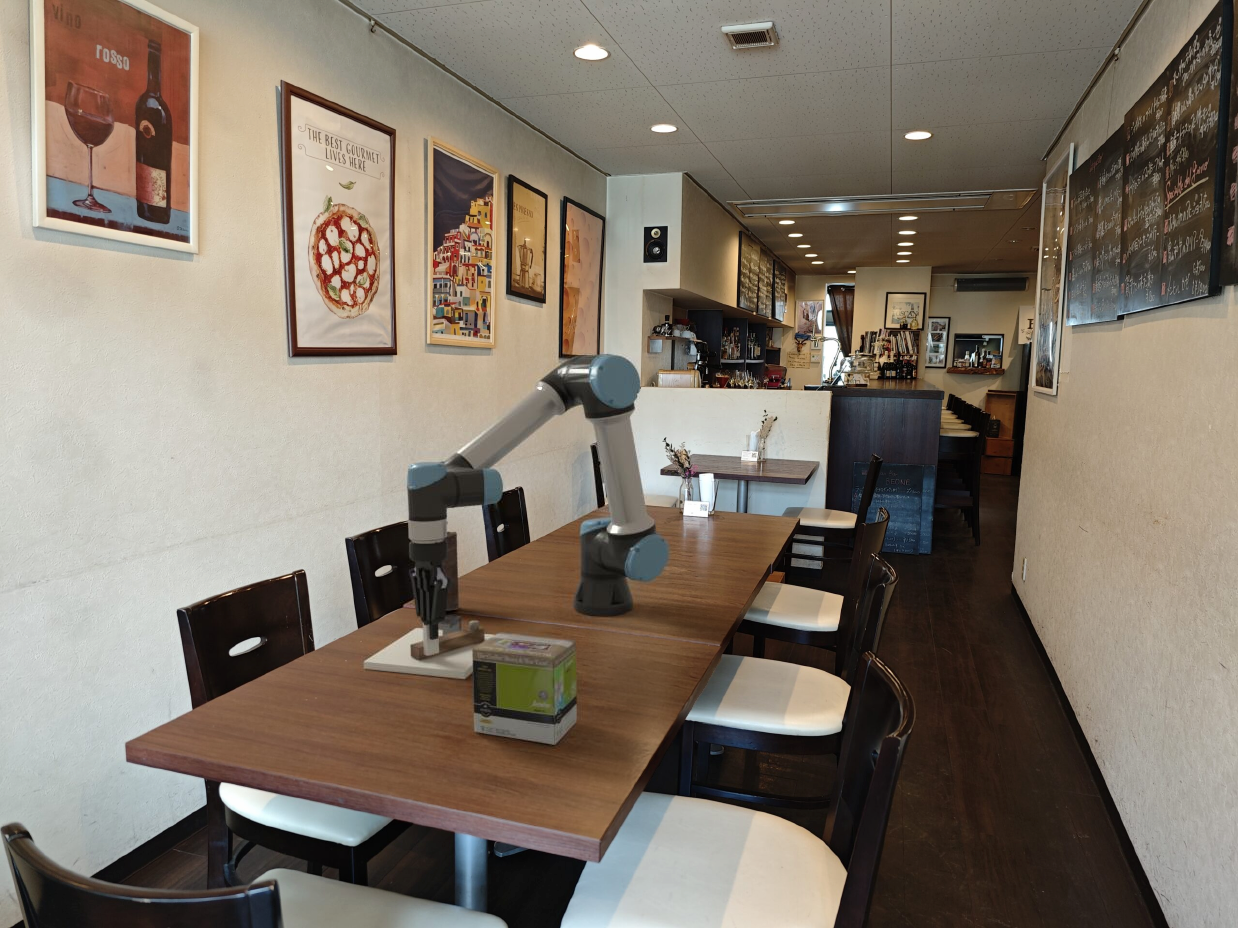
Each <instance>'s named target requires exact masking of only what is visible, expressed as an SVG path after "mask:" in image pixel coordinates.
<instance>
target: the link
mask: <svg viewBox="0 0 1238 928" xmlns="http://www.w3.org/2000/svg"><path fill="white" fill-rule="evenodd" d="M468 624H469V626H467V627H464V628H462V629H461V630H460V631H456V632H453V633H449V634H446V635H442V636H439V653H436V654H432V655H428V656H426V655H425V654H424V647H423V641H421V642H418V643H414V644H411V645H410V647H411V657H413V658H416V659H418V660H421V659H424V658H427V657H431V656H434V655H437V654H440V653H444V652H447V651H450V650H453V649H457V648H460V647H463V646H467V645H470V644H476V643H481V642H483V641H484V640H485V634H486V633H485V627H483V626H481V625H479V624H480V623H479V620H471V621H469V623H468Z"/></svg>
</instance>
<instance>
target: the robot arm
mask: <svg viewBox="0 0 1238 928" xmlns="http://www.w3.org/2000/svg"><path fill="white" fill-rule="evenodd" d="M640 391H641V377H640V374H639V372H638V369H637V368H636V366H635V365H634V364H633V363H632V361H630V360H629V359H627V358H626V357H624V356H621V355H619V354H618V355H617V354H616V355H615V354H611V353H610V354H609V353H602V354H589V355H587V354H585V355H582V354H581V355H576V356H574V357H571V358H569V359H567V360H565V361H564V362H562V363H561V364H560V365H558V366H557V367H555V368H554V369H553V370H551V371H550V372H549V373H548V374H546V375H545V376H544V377H543V378H541V379H540V380H539V381H537V382H536V383H535V388H534V390H533V391H532V392H531V393H530V394H528V395H526V397H524V398H523V399H522V400H520V401H519V402H518V403H517V404H515V405H514V406H513V407H512V408H510V409H509V410H508V411H507V412H506V413H504V414H502V416H500V417H499V418H498V419H496V420H495V421H494V422H493V423H492V424H490V425H489V426H487V428H485V429H484V430H482V432H480V433H479V434H478V435H476V436H475V437H474V438H473V439H471V440H470V441H469V442H467V443H466V444H465V445H464V446H463V447H461V448H460V449H459V450H458V451H456V452H455V453H454V454H452V455H451V456H450V457H449V458H447V459H446V460H445V461H429V462H428V461H427V462H425V461H420V462H415V463H412V464H410V465H409V466H408V468H407V474H406V475H407V476H406V477H407V481H406V482H407V483H406V490H407V506H408V507H407V508H408V509H407V510H408V519H407V521H408V524H407V526H408V539H409V540H410V542H409V543H408V549H409V550H408V554H409V555H408V556H409V559H410V560H411V561H413V562H414V563H415V564H414V568H411V569H409V570H408V574H409V578H410V580H411V586H412V592H413V593H412V594H413V600H414V606H415V615H416V617H418V618H419V617H420V622H421V623H422V628H423V647H424V654H425V655H426V656H428V655H432V654H436V653H439V632H438V630H439V628H438V624H439V622H442V621H445V615H446V613H447V611H446V604H447V595H448V588H449V585H450V582H451V580H450V578H445V577H444V575H443V566H442V561H443V560H444V559H446V558H447V556H448V541H447V540H446V539H444V538H446V537H447V532H448V523H449V522H448V521H447V518H448V509H454V508H455V509H456V508H462V507H464V508H465V507H475V506H485V507H486V506H487V505H491V504H497V503H498V502H499V501H501V499H502V496H503V491H504V482H503V478H502V476H501V473H500V472H499V471H498V470H497V469H496V468H492V467H494V466H495V465H496V464H498V463H499V462H500V460H502V459H503V458H505V457H506V456H507V455H508V454H509V453H511V452H512V451H513V450H514V449H516V448H517V447H518V446H520V445H521V444H522V443H523V442H524V441H525V440H527V439H528V438H529V437H530V436H532V435H533V434H534V433H535V432H537V430H539V429H540V428H541V427H543V426H544V425H545V424H546V423H547V422H549V420H551V419H552V418H553V417H555V416H562V415H564V414H565V413H566V412H568V411H569V410H571V409H572V408H573V409H574V408H575V407H579V406H582V409H583V414H584V418H585V419H586V421H588V422H590V424H592V425H593V429H594V436H595V440H596V446H597V452H598V456H599V460H600V461H599V462H600V468H601V473H602V477H603V478H602V479H603V483H604V488H605V494H606V498H607V499H606V500H607V504H608V510H609V514H610V517H601V518H598V517H597V518H591V519H590V518H589V519H586V520H584V521H583V522H582V523H581V525H580V531H579V538H580V578H579V581H578V584H577V588H576V591H575V594H574V597H573V608H574V610H575V611H576V612H578V613H581V614H584V615H590V616H600V617H601V616H602V617H603V616H605V617H606V616H607V617H608V616H616V615H622V614H626V613H628V612H630V611H632V610H633V608H634V600H633V599H634V598H633V595H632V592H631V589H630V585H629V582H628V579H629V580H631V581H633V582H634V581H636V582H640V583H647V582H652V581H654V580H655V579H657V578H658V577H660V575H661V574H662V573H663V572H664V571H665V567H667V565H668V562H669V559H670V547H669V543H668V542H667V540H666V539H665V538H664V537H663V536H661V534H658V532H657V527H656V522H655V519H654V518H653V517H651V516H650V515H649V514H648V511H647V507H646V501H645V494H644V489H643V483H642V479H641V472H640V467H639V460H638V456H637V455H638V454H637V451H636V443H635V439H634V438H635V437H634V433H633V427H632V422H631V416H632V414H633V413H634V412H635V410H636V407H635V406H636V405H635V401H636V400H637V398H638V396H639V395H638V394H639V393H640Z"/></svg>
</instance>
